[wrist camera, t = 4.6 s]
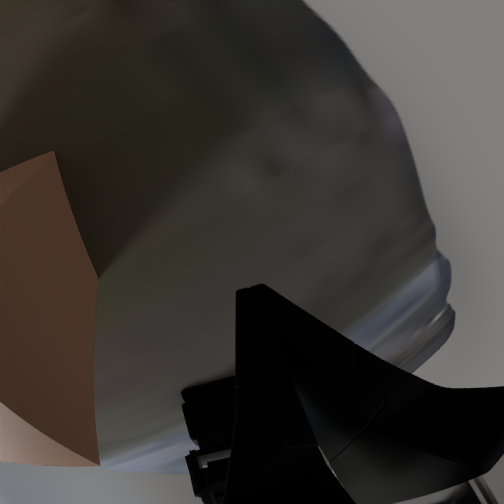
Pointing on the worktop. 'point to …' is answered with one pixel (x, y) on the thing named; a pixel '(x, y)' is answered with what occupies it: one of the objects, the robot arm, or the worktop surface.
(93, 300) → the terracotta block
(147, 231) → the worktop surface
